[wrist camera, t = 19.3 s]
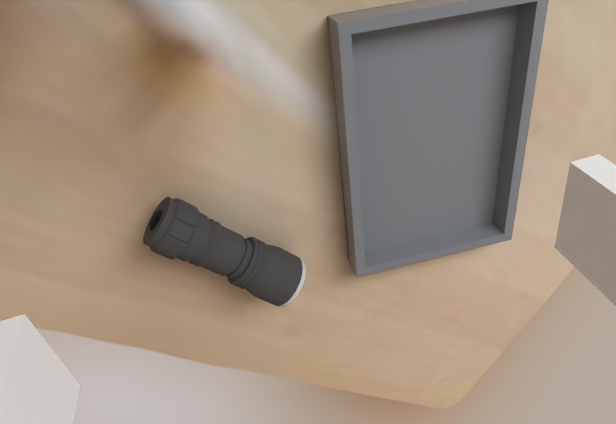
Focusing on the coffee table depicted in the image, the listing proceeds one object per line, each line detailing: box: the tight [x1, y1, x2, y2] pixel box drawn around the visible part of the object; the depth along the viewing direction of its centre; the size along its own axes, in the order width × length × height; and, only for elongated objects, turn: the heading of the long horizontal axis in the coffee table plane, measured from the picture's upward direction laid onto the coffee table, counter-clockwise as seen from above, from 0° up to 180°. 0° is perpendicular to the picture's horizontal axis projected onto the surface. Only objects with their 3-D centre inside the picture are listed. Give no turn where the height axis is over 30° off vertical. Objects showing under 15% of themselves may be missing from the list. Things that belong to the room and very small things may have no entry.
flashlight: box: [143, 197, 306, 307], centre depth 46 cm, size 15×5×5 cm
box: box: [328, 0, 548, 277], centre depth 46 cm, size 26×18×3 cm
